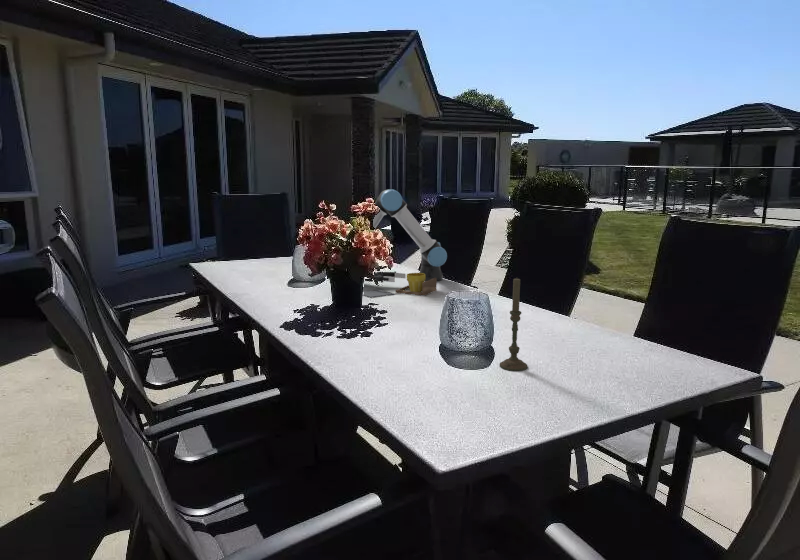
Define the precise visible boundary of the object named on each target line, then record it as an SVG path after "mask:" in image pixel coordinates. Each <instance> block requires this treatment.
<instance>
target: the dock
mask: <svg viewBox="0 0 800 560" xmlns="http://www.w3.org/2000/svg"><path fill="white" fill-rule="evenodd" d="M408 288H409V284H408V285H406V286H403V287H400V288H398V289H396V290H395V294H401V293H405V294H404V295H411V294H415V295H414V296H421V295H425V296H427V295H429V294H431V292H432V293H433V292H436V291H437V278H433V279H430V280H428V281H424V282H423V283H422V292H412V291H410V290H408ZM405 289H406V290H405ZM409 289H410V288H409ZM403 290H404V291H403Z"/></svg>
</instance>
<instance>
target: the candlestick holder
mask: <svg viewBox="0 0 800 560" xmlns="http://www.w3.org/2000/svg"><path fill="white" fill-rule="evenodd" d="M512 280H513V281H512V306H511V308H512V309H511V310H510V311H509V314H510V315H511V316H510V317H509V319H510V321H511V322H512V325H511V326H512V327H511V331H512V333H511V334H512V335H511V336H512V337H511V340H512V343H511V345H509V346H508V350H509V353H510V356H509V358H506V359H504V360H503V361H501V362H500V363H499V367H500V368H501V369H502V370H506V371H509V372H521V371H525V370H527V369H528V367H529V366H528V364H527V363H526V362H524V361H523V360H522V359H520V358H519V357H518V354H519V352H520V350H521V349H520V347H519V346H518V343H517V339H518V332H519V324H518V322H520V321H521V315H522V311H521V310H520V293H521V279H520V278H513V279H512Z"/></svg>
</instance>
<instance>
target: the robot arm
mask: <svg viewBox="0 0 800 560" xmlns="http://www.w3.org/2000/svg"><path fill="white" fill-rule="evenodd" d="M374 204H376V205H377V206H378V207H379V208H380V212H379V213H378V214H377V215H375V217H374V219H373V227H374V228H375V229H376V228H377V226H378V225H379V224H380V222H381V221H382V219H383V218H384V216H387V215H390V217H391V218H395V220H397V222H398V223H399V224H400V225H401V227H402V228H403V229H404V230H405V232H406V233H407V234H408V235H409V236H410V238H411V239H412V240H413V241H414V242H415V244H416V245H417V247H419V252H420V255H421V257H420V259H421V265H420V269H419V272H418V273H424V274H425V281H428V280H430V279H433V278H437V281H438V282H439V281H442V280H443V279H444V274H443V272H442V269H441V266H443V265H445V263H446V262H447V259H448V253H447V251H446V249H445V248H443V247H442V245H441V242H439V241H437V239H433V238H432V237H431V236H430V235H429V234H428V233H427V232H426V230H425V229H424V227H422V225H421V224H420V223H419V221H418V220H417V219H416V218H415V217H414V215H413V214H412V213H411V211H410V210H409V209H408V208H407V206H408V204H407V203H406V201H405V200H404V199H403V197H402V195H401V193H400V192H399V191H397V190H396V189H391V188H389V189H388V188H387V189H385V190H382V191H381V192H380V194H379V195H378V196H377V199H376V201H375V203H374ZM374 276H375V278H376V280H377V281H376V282H378V283H379V282H380V283H384V282H389V283H395V278H397V279H407V273H403V272H402V273H401V272H397V271H395V270H394V271H375V272H374ZM425 281H424V282H425ZM364 282H370V283H371V282H372V283H373V282H374V281H373V280H372V279H365V281H364Z"/></svg>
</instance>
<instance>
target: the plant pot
mask: <svg viewBox="0 0 800 560" xmlns="http://www.w3.org/2000/svg"><path fill="white" fill-rule="evenodd" d="M406 281H407V282H408V285H409V291H412V292H422V283H423V282H425V274H424V273H419V272H410V273H406Z"/></svg>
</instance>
